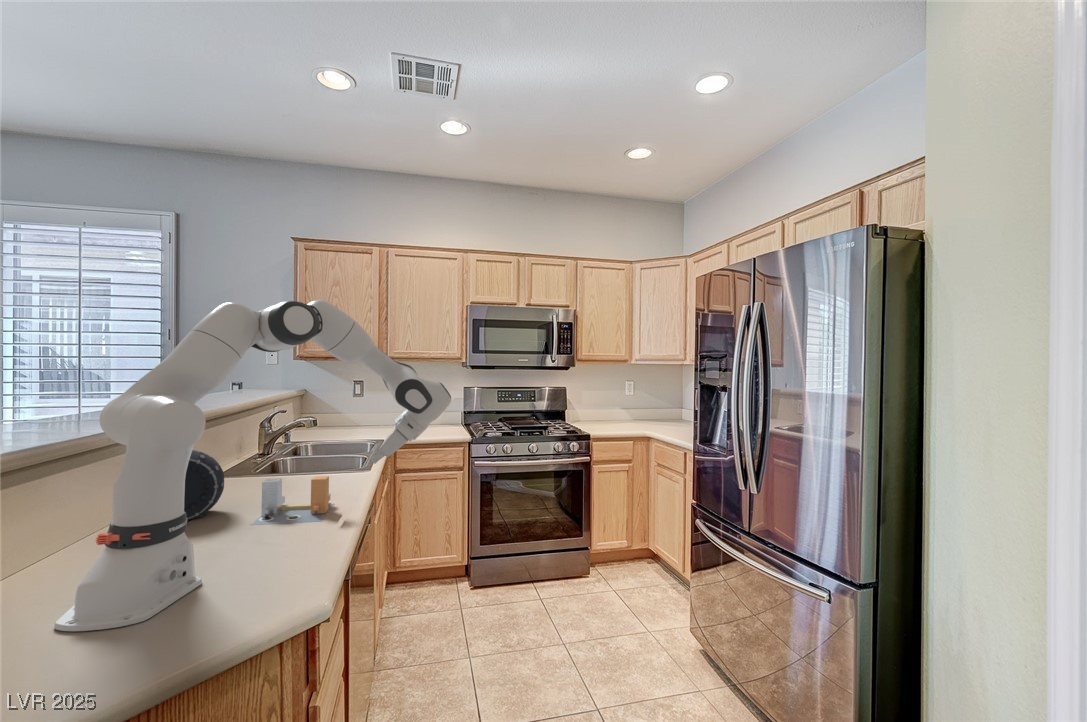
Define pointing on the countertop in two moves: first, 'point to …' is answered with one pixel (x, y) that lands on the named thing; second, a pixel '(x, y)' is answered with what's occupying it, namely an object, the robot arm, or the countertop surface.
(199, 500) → the dark rounded piece
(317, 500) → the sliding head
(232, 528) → the countertop surface
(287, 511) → the board
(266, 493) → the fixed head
